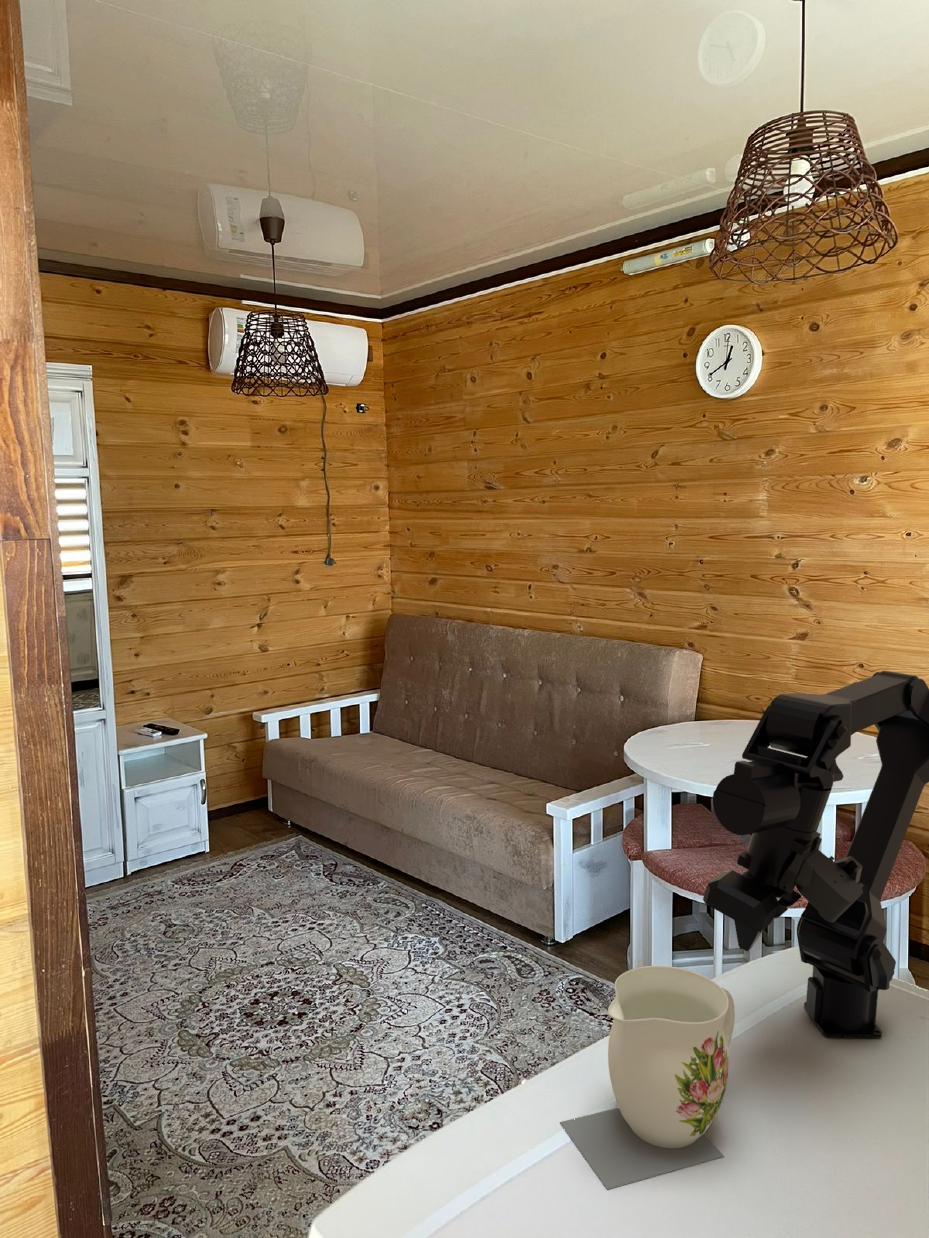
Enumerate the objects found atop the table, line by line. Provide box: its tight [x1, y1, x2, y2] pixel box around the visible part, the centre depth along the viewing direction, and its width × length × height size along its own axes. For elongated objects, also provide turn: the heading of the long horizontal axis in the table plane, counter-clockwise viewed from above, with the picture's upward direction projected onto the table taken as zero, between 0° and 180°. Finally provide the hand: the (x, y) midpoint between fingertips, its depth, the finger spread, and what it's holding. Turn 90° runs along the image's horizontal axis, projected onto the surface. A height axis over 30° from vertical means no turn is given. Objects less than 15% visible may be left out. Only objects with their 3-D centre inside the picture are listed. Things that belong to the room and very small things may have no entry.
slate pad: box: [559, 1107, 725, 1191], centre depth 85 cm, size 12×9×1 cm
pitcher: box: [607, 965, 736, 1148], centre depth 86 cm, size 11×18×14 cm, turn 129°
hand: (744, 948), depth 98 cm, fingers closed
